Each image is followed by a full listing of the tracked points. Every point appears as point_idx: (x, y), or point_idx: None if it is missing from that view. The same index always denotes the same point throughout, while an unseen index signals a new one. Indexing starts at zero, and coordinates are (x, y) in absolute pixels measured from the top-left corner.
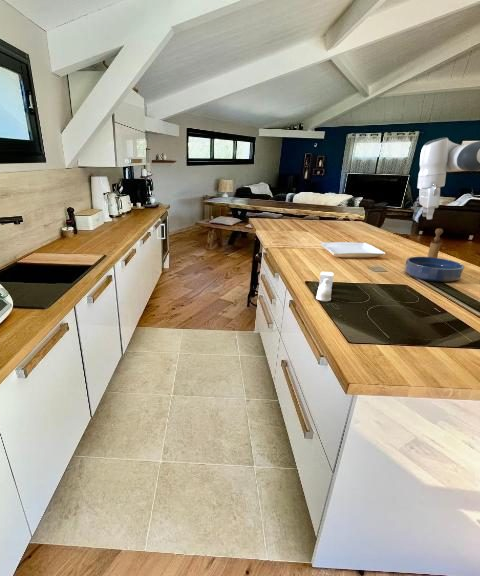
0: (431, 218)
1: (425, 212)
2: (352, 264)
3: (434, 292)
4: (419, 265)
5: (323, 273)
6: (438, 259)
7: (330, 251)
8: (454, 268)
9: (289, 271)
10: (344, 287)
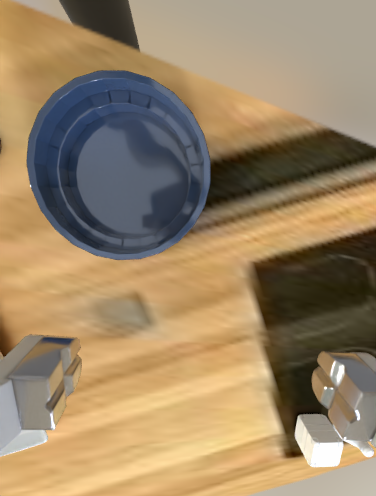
0: (366, 360)
1: (47, 409)
2: (95, 373)
3: (293, 210)
4: (184, 233)
5: (326, 461)
6: (40, 136)
7: (18, 449)
8: (102, 99)
9: (223, 493)
10: (307, 389)
